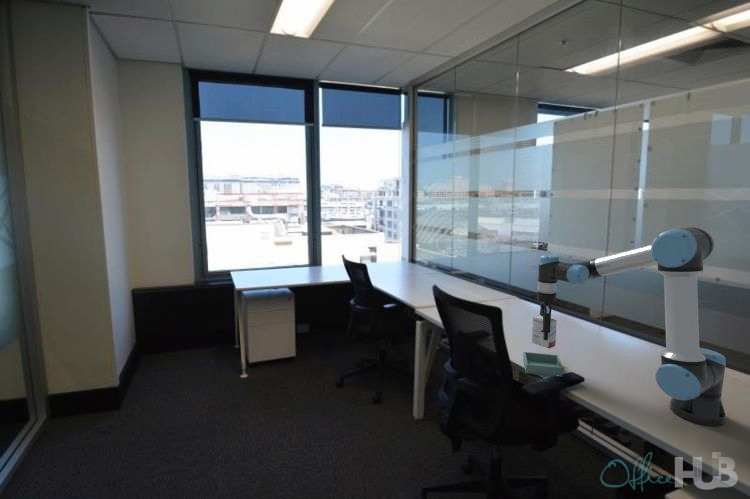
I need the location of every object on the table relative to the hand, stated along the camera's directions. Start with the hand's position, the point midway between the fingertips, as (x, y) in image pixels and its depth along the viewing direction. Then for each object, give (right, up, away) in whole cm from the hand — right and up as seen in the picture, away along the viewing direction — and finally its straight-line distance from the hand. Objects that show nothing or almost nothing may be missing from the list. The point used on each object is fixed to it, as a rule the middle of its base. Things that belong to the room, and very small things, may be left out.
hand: (543, 342), depth 177 cm
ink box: (0, -1, 0) cm, 1 cm away
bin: (0, -12, +2) cm, 12 cm away
